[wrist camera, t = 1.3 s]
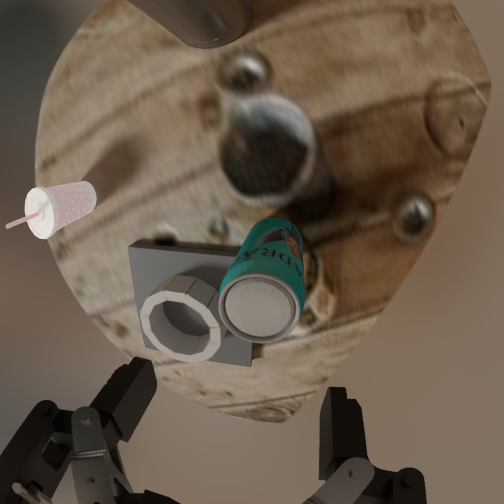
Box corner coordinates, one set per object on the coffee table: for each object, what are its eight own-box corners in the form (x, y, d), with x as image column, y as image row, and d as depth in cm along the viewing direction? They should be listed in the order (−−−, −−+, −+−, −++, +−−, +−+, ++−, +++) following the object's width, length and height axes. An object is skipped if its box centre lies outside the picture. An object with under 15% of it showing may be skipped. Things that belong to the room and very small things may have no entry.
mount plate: (133, 242, 34) (110, 258, 29) (257, 253, 32) (249, 274, 27) (149, 341, 40) (133, 364, 35) (252, 360, 38) (245, 387, 33)
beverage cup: (70, 215, 35) (-2, 248, 22) (70, 174, 33) (-8, 195, 20) (100, 222, 34) (25, 260, 21) (101, 177, 32) (18, 200, 19)
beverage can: (312, 234, 31) (324, 305, 17) (281, 272, 33) (268, 360, 19) (269, 202, 30) (246, 250, 16) (240, 243, 32) (198, 315, 18)
